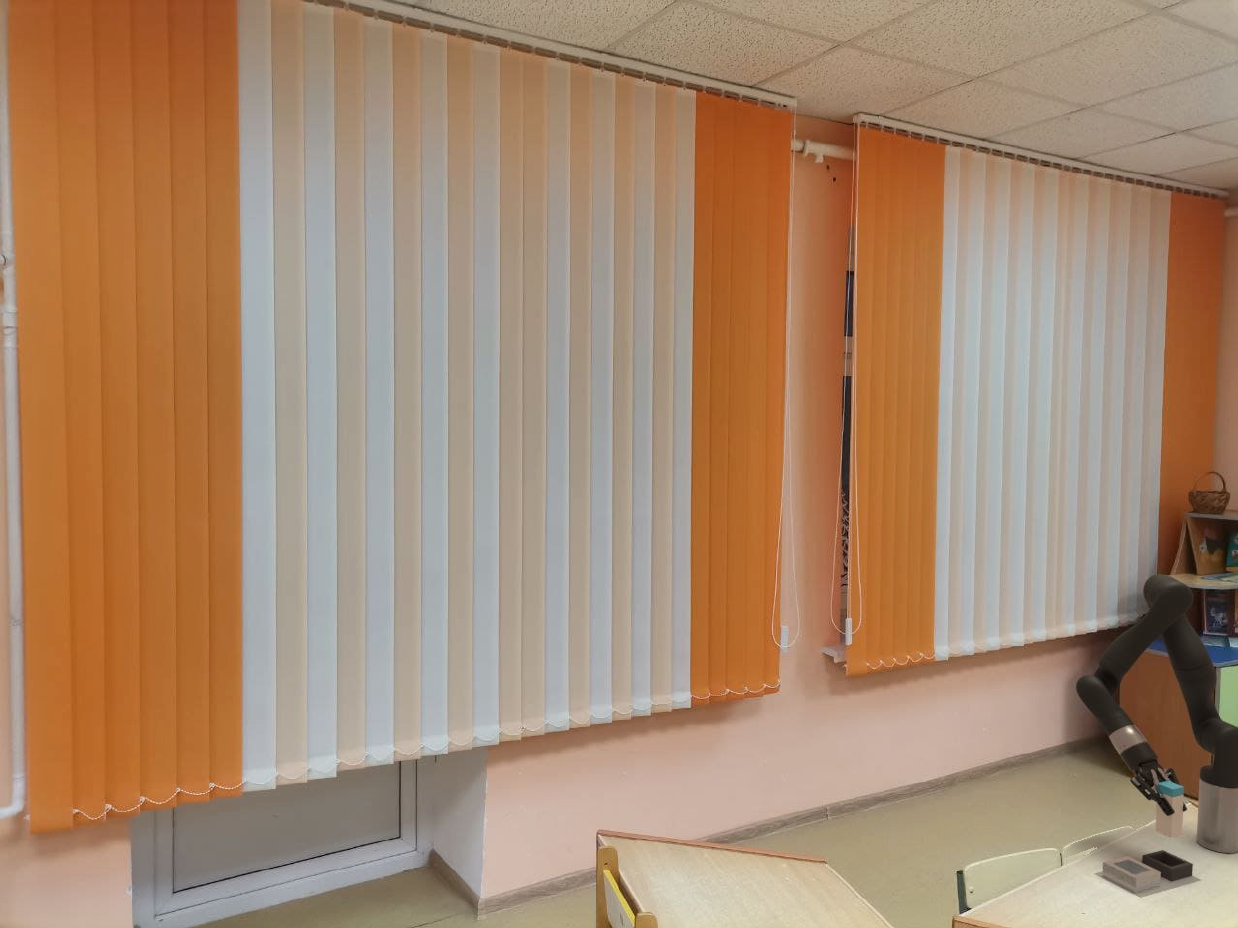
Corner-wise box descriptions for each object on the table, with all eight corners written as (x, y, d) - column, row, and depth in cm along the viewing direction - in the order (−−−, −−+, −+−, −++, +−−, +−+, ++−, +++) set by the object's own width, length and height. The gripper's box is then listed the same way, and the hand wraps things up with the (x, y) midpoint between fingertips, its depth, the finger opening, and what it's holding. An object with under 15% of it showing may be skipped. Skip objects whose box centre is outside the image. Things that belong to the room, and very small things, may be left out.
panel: (1154, 861, 225) (1154, 857, 225) (1201, 883, 214) (1201, 879, 214) (1094, 877, 216) (1094, 873, 216) (1140, 901, 205) (1140, 897, 205)
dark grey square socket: (1162, 861, 223) (1162, 849, 223) (1192, 875, 216) (1192, 863, 216) (1141, 866, 220) (1142, 855, 220) (1171, 881, 213) (1172, 869, 213)
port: (1126, 869, 219) (1127, 855, 218) (1160, 886, 211) (1160, 871, 211) (1102, 875, 215) (1103, 861, 215) (1135, 893, 207) (1136, 878, 207)
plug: (1166, 827, 221) (1168, 780, 220) (1182, 834, 217) (1183, 786, 216) (1155, 830, 219) (1157, 783, 218) (1171, 837, 215) (1172, 789, 215)
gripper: (1123, 744, 221) (1169, 811, 210) (1161, 736, 227) (1208, 801, 216) (1103, 757, 226) (1147, 824, 216) (1141, 750, 232) (1185, 814, 221)
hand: (1177, 812), depth 216 cm, fingers closed on plug, 4 cm apart
